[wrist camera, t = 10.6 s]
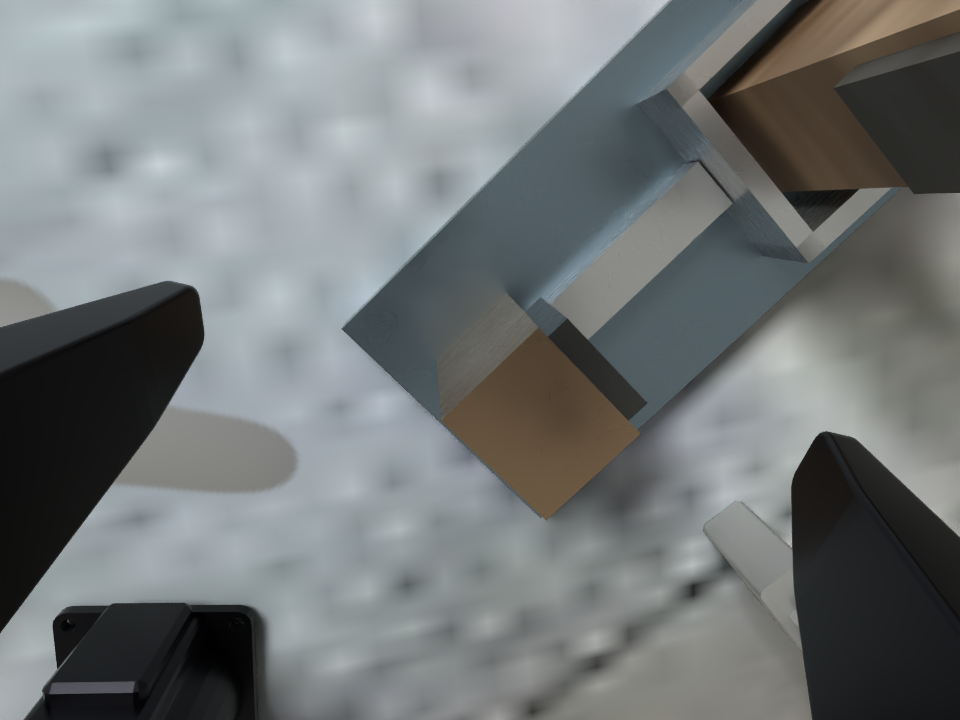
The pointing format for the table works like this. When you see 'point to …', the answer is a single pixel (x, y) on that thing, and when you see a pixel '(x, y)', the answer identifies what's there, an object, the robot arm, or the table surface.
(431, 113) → the table surface
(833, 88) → the walnut finger
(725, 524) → the lighter
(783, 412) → the table surface
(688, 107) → the rail
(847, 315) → the table surface
